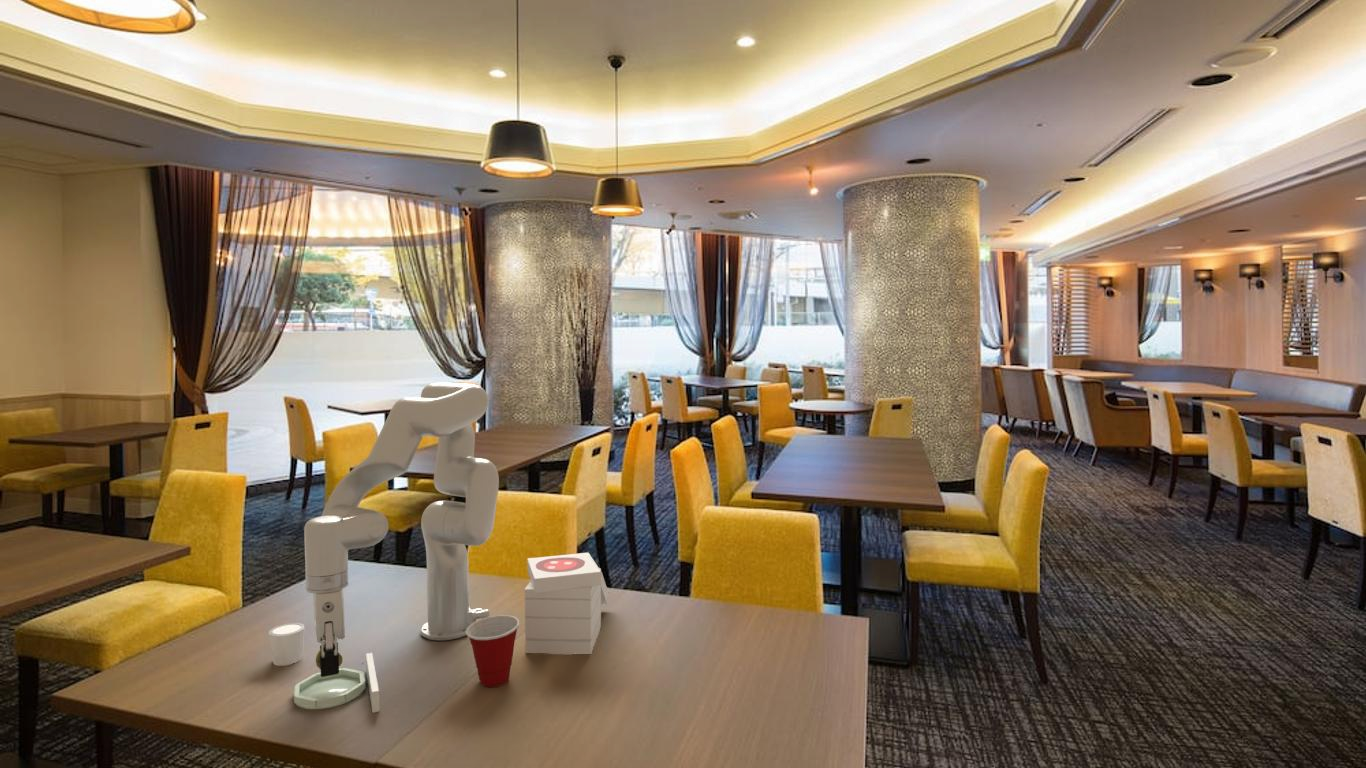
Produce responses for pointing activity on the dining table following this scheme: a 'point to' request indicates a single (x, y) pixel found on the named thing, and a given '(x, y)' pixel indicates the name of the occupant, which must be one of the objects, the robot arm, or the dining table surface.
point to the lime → (324, 653)
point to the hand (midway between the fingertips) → (329, 668)
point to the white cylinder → (287, 643)
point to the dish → (329, 689)
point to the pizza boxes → (563, 604)
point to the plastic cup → (493, 647)
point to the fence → (372, 682)
